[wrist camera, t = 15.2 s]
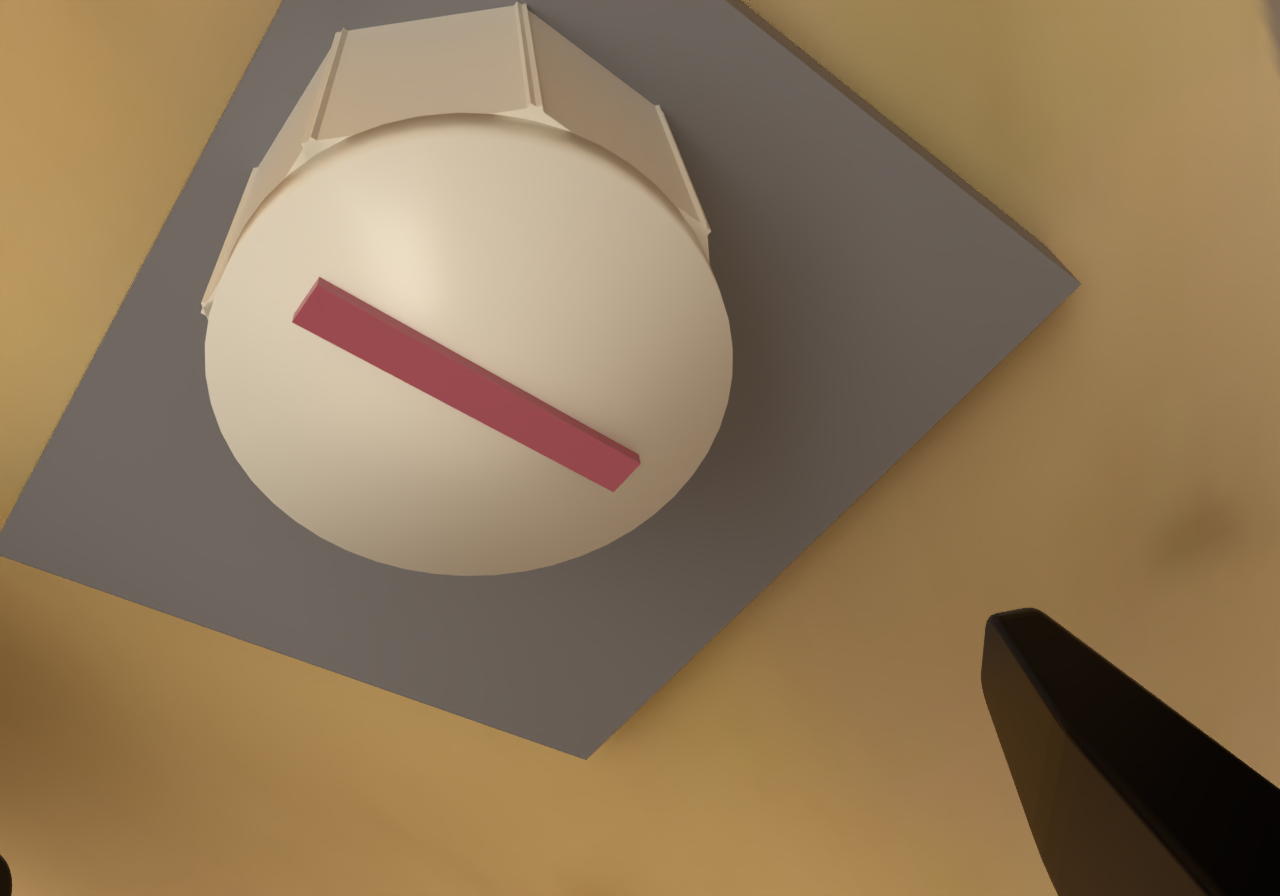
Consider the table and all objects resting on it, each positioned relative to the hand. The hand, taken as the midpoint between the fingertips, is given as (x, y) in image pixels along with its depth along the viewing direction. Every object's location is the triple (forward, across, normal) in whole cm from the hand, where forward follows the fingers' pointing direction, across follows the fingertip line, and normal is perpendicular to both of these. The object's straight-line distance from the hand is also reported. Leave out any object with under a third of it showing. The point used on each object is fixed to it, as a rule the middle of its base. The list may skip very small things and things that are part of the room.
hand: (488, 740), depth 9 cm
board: (+12, 0, +4) cm, 13 cm away
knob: (+10, 0, 0) cm, 10 cm away
